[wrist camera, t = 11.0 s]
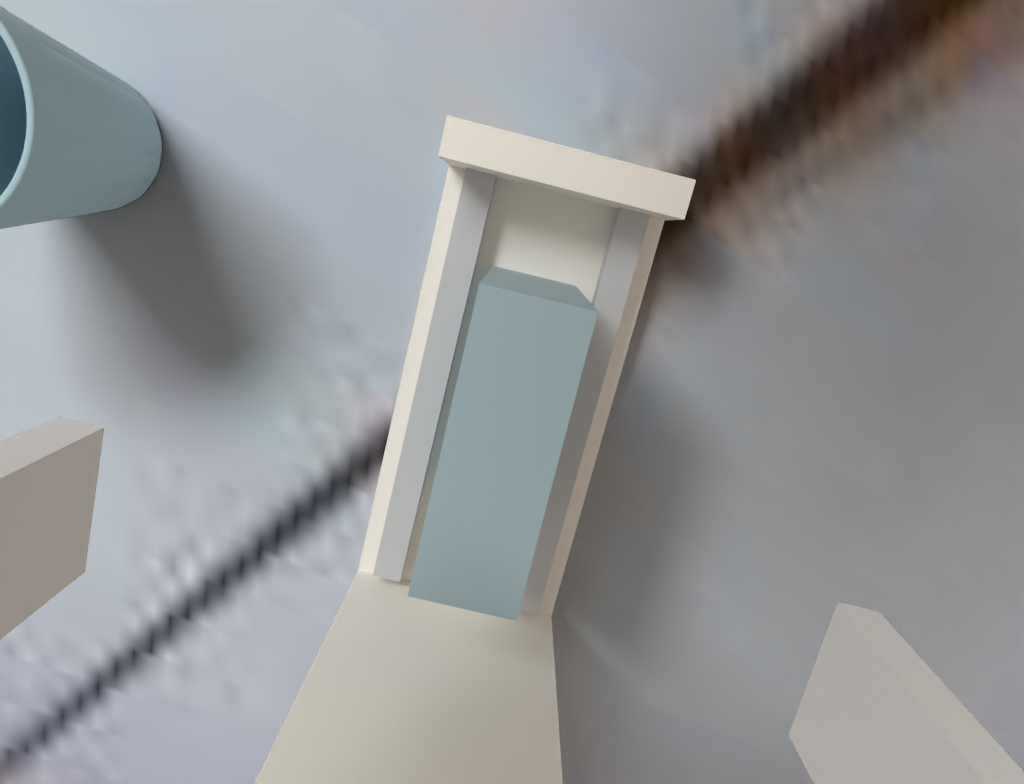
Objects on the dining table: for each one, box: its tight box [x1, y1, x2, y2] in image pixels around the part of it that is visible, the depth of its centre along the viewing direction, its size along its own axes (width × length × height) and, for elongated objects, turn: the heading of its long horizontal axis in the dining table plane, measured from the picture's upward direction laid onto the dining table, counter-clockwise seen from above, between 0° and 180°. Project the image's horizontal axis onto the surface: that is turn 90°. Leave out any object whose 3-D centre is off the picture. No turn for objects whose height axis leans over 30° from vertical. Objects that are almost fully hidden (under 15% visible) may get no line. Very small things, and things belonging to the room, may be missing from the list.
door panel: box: [408, 266, 598, 621], centre depth 28 cm, size 10×4×10 cm, turn 167°
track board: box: [254, 115, 696, 784], centre depth 27 cm, size 22×9×15 cm, turn 166°
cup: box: [0, 6, 162, 229], centre depth 27 cm, size 8×8×10 cm
